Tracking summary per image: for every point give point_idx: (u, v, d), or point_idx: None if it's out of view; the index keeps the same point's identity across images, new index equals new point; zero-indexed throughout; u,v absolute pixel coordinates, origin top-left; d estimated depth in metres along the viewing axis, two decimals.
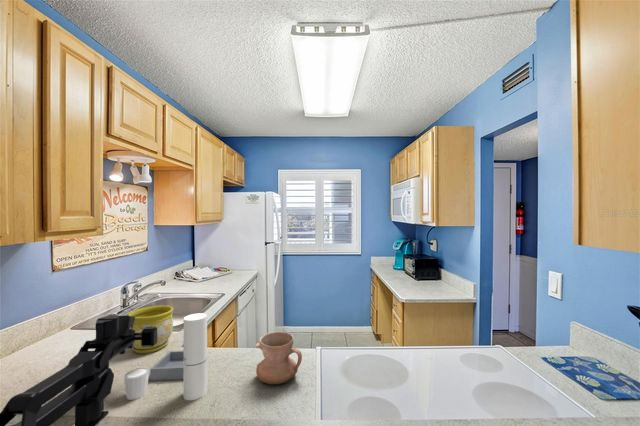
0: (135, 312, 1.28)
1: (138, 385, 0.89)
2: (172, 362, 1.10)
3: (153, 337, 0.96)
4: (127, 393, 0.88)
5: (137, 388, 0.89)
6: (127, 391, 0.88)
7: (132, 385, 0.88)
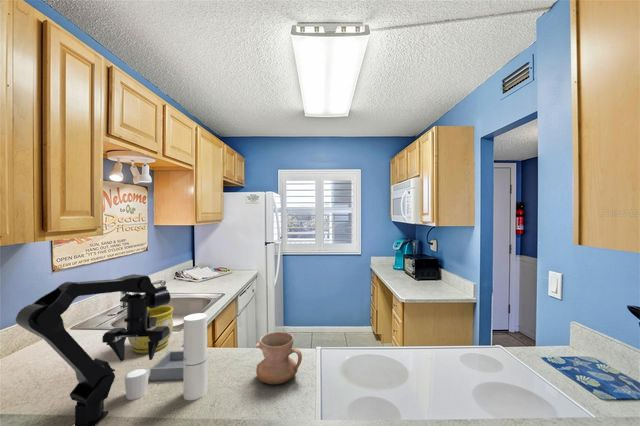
0: None
1: (138, 385, 0.89)
2: (172, 362, 1.10)
3: (165, 329, 0.92)
4: (127, 393, 0.88)
5: (137, 388, 0.89)
6: (127, 391, 0.88)
7: (132, 385, 0.88)
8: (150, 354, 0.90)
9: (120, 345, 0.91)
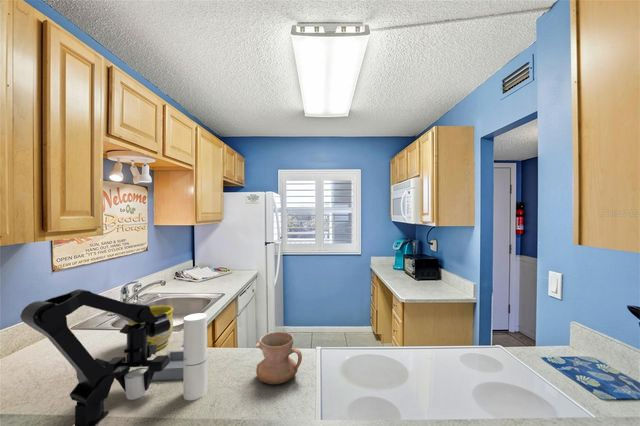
0: None
1: (138, 385, 0.89)
2: (172, 362, 1.10)
3: (165, 359, 0.92)
4: (127, 393, 0.88)
5: (137, 388, 0.89)
6: (127, 391, 0.88)
7: (132, 385, 0.88)
8: (146, 385, 0.90)
9: (124, 375, 0.90)
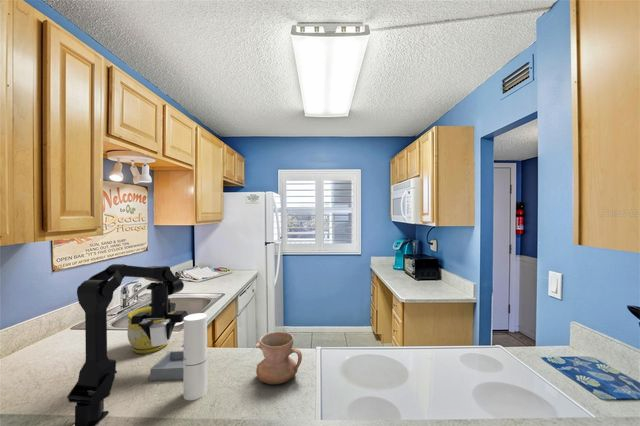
0: (135, 312, 1.28)
1: (161, 334, 1.03)
2: (172, 362, 1.10)
3: (184, 313, 1.07)
4: (152, 340, 1.03)
5: (161, 336, 1.03)
6: (152, 339, 1.03)
7: (156, 333, 1.03)
8: (168, 334, 1.05)
9: (149, 326, 1.05)
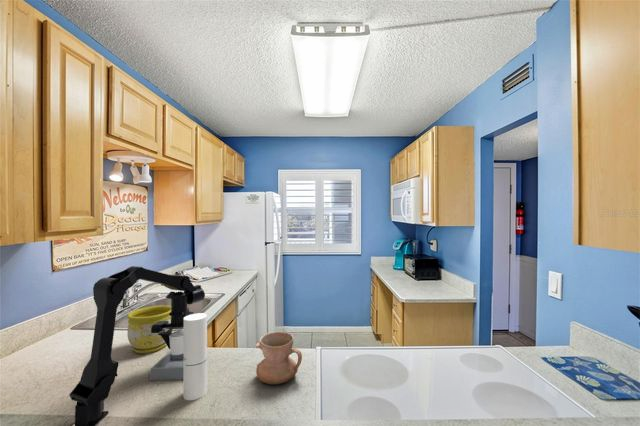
0: (135, 312, 1.28)
1: (181, 343, 1.04)
2: (172, 362, 1.10)
3: None
4: (172, 349, 1.04)
5: (180, 345, 1.04)
6: (172, 348, 1.04)
7: (176, 342, 1.04)
8: None
9: (168, 335, 1.06)
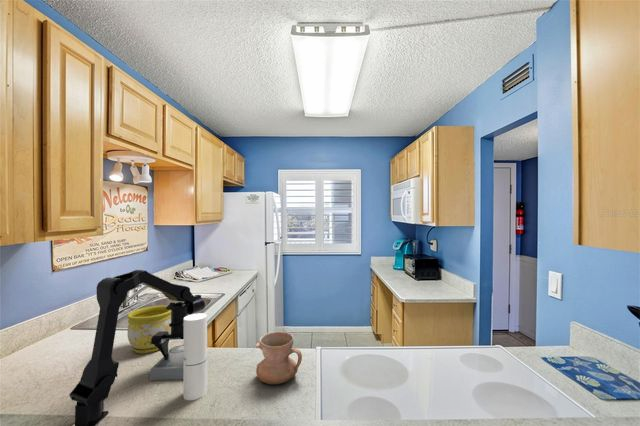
0: (135, 312, 1.28)
1: (181, 359, 1.04)
2: None
3: None
4: (172, 365, 1.04)
5: (180, 361, 1.04)
6: (172, 364, 1.04)
7: (176, 358, 1.03)
8: None
9: (165, 346, 1.06)
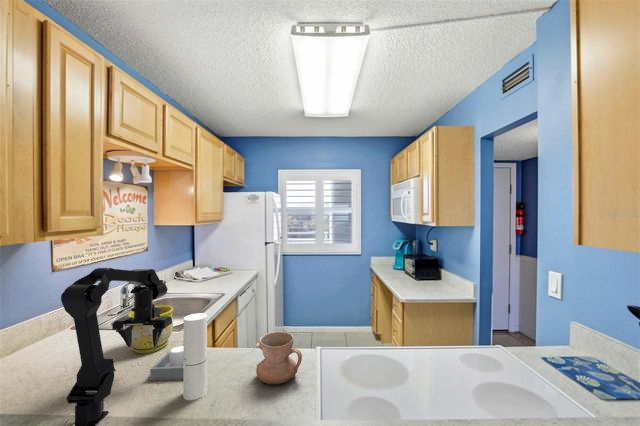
0: None
1: (181, 359, 1.04)
2: None
3: (168, 319, 1.02)
4: (172, 365, 1.04)
5: (180, 361, 1.04)
6: (172, 364, 1.04)
7: (176, 358, 1.03)
8: (154, 341, 1.00)
9: (127, 333, 1.00)
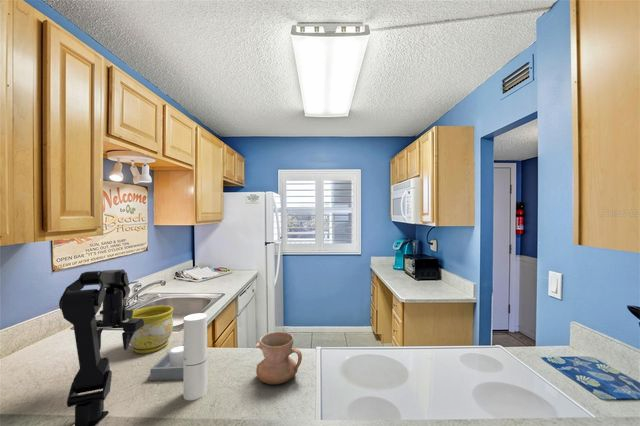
0: (135, 312, 1.28)
1: (181, 359, 1.04)
2: None
3: (139, 321, 0.98)
4: (172, 365, 1.04)
5: (180, 361, 1.04)
6: (172, 364, 1.04)
7: (176, 358, 1.03)
8: (124, 344, 0.96)
9: None
